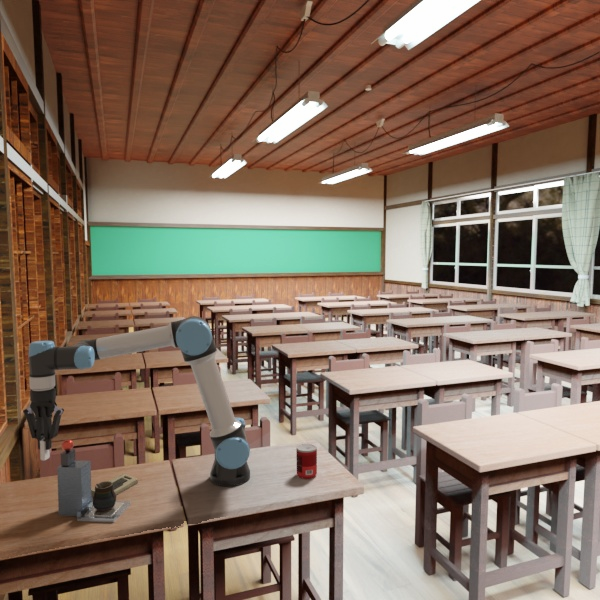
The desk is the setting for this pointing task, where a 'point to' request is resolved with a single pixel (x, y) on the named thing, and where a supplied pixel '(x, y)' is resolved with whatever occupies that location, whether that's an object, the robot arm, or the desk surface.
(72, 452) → the lever
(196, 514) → the desk surface
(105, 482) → the mate gourd
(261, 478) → the desk surface
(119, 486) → the computer
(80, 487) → the press
